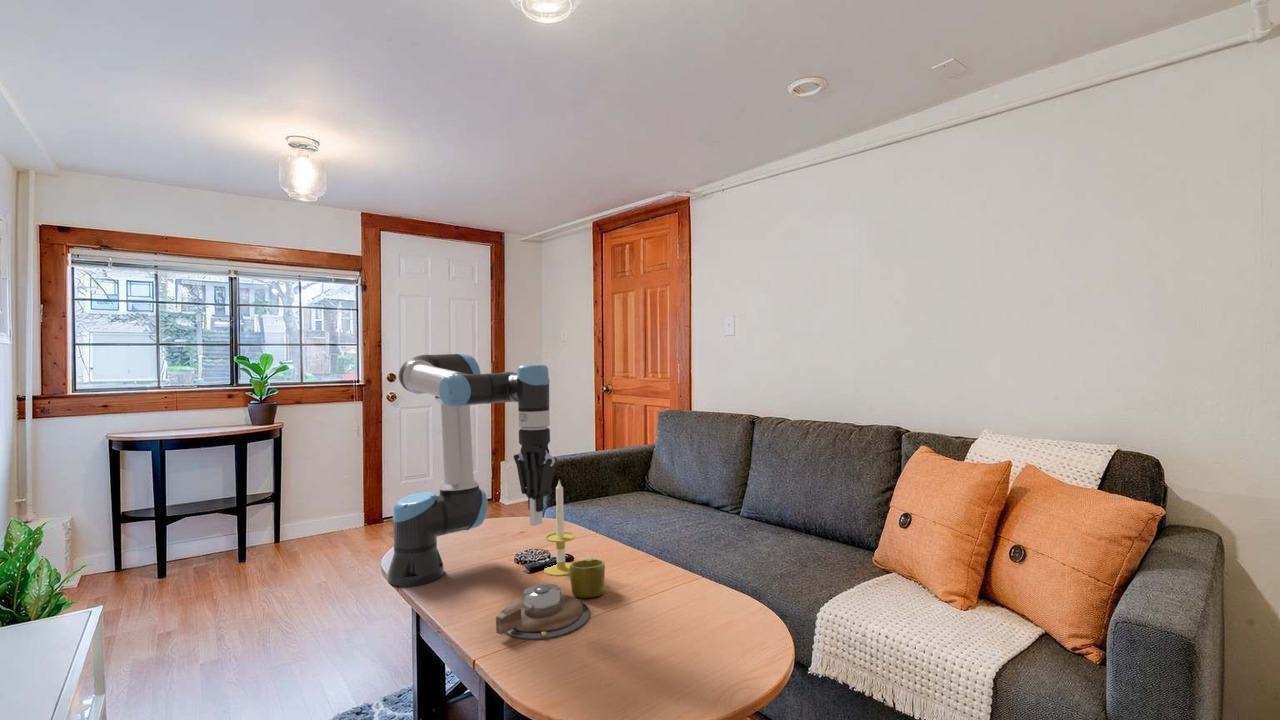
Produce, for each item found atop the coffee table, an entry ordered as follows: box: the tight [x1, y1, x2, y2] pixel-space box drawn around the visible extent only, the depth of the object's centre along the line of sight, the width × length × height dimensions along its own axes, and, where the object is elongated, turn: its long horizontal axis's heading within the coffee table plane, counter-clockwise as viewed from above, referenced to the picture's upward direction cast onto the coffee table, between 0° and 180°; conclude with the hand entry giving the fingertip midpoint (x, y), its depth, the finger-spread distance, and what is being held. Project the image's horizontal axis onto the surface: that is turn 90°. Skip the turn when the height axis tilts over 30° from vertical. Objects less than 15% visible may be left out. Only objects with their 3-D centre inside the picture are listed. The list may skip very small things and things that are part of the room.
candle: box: [543, 479, 576, 577], centre depth 169 cm, size 10×10×27 cm
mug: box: [569, 557, 606, 599], centre depth 153 cm, size 12×10×10 cm
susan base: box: [499, 599, 590, 641], centre depth 138 cm, size 22×22×1 cm
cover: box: [522, 583, 562, 618], centre depth 139 cm, size 9×9×5 cm
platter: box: [495, 593, 583, 635], centre depth 137 cm, size 19×24×5 cm
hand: (536, 523), depth 140 cm, fingers closed
